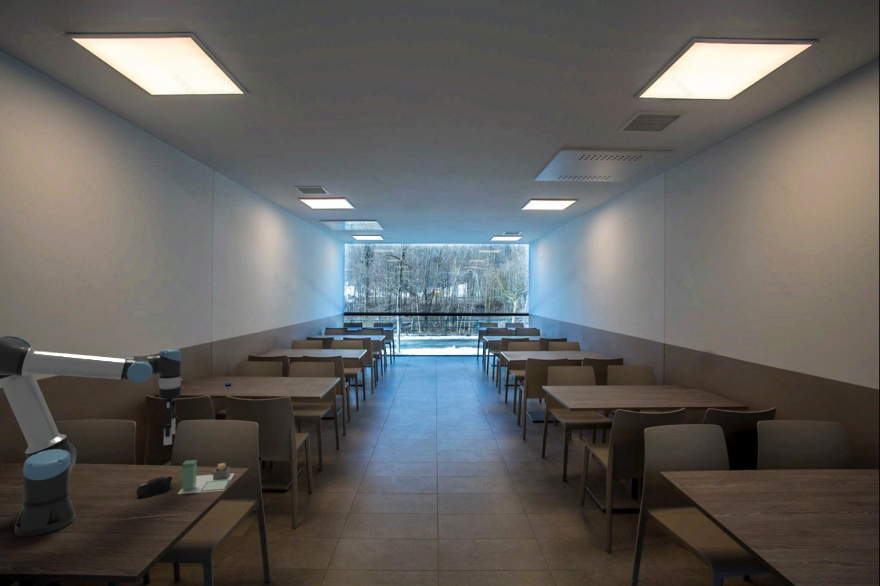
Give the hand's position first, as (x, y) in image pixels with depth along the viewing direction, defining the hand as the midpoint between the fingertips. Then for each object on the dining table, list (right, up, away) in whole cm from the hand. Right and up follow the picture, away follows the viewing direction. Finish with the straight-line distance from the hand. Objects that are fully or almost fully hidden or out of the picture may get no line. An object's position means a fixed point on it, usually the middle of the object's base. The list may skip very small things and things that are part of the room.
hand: (169, 439), depth 178 cm
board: (+14, -19, +2) cm, 24 cm away
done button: (+17, -17, +8) cm, 25 cm away
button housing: (+17, -19, +8) cm, 27 cm away
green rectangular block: (+10, -19, -4) cm, 22 cm away
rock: (-2, -19, -6) cm, 20 cm away
